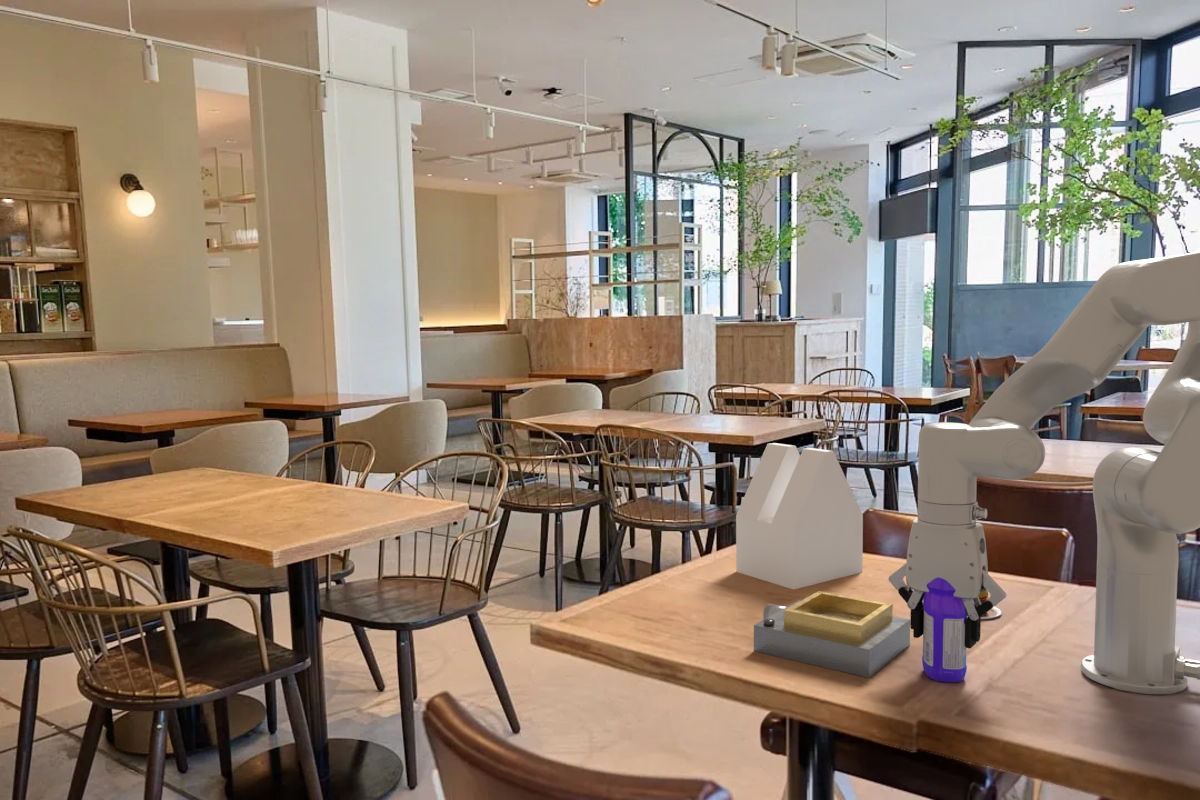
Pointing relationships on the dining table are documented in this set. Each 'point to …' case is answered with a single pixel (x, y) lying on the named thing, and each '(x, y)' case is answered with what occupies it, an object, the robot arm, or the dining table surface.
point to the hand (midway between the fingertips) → (944, 639)
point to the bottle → (944, 633)
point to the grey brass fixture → (833, 633)
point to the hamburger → (984, 597)
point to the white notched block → (799, 520)
